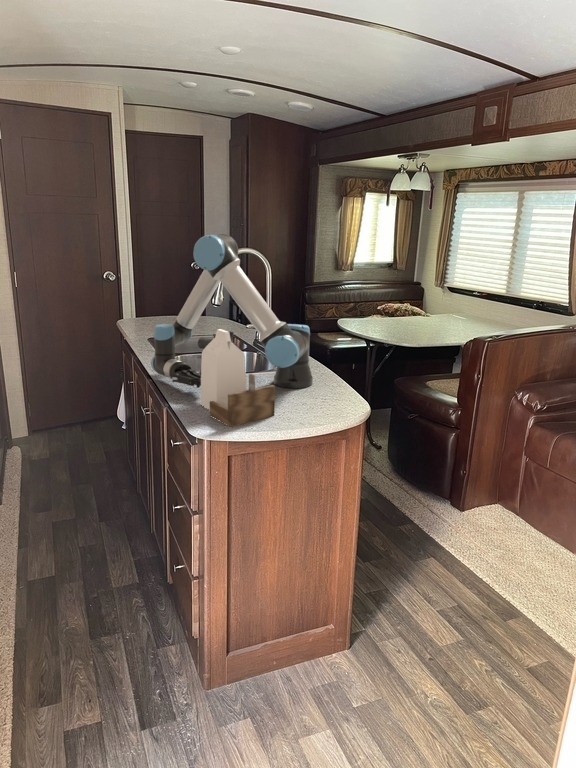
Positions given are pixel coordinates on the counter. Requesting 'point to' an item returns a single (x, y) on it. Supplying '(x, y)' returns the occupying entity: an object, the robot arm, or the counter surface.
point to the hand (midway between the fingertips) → (212, 385)
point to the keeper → (246, 405)
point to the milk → (221, 370)
